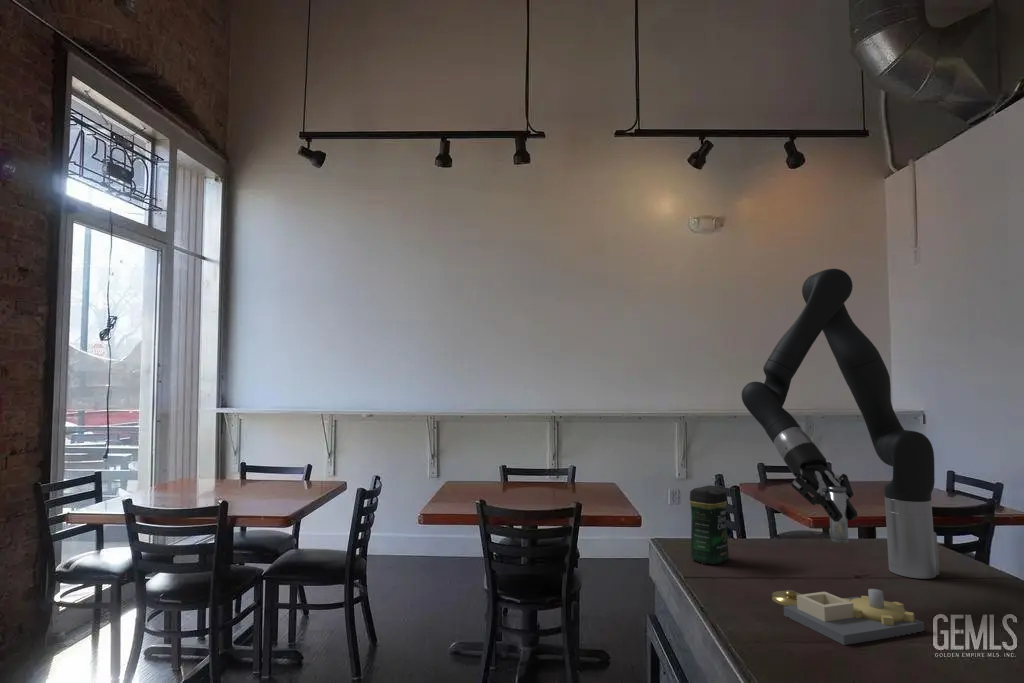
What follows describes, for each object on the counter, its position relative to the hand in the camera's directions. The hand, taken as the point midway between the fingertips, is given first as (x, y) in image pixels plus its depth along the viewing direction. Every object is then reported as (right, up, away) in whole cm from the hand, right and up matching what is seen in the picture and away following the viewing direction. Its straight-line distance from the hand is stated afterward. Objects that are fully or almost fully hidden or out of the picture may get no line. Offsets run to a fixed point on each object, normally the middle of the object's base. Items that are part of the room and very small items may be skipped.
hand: (846, 518), depth 120 cm
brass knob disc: (-11, -18, +1) cm, 21 cm away
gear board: (-5, -16, -11) cm, 20 cm away
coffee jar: (-18, -20, +30) cm, 40 cm away
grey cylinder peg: (-1, -5, +1) cm, 5 cm away
